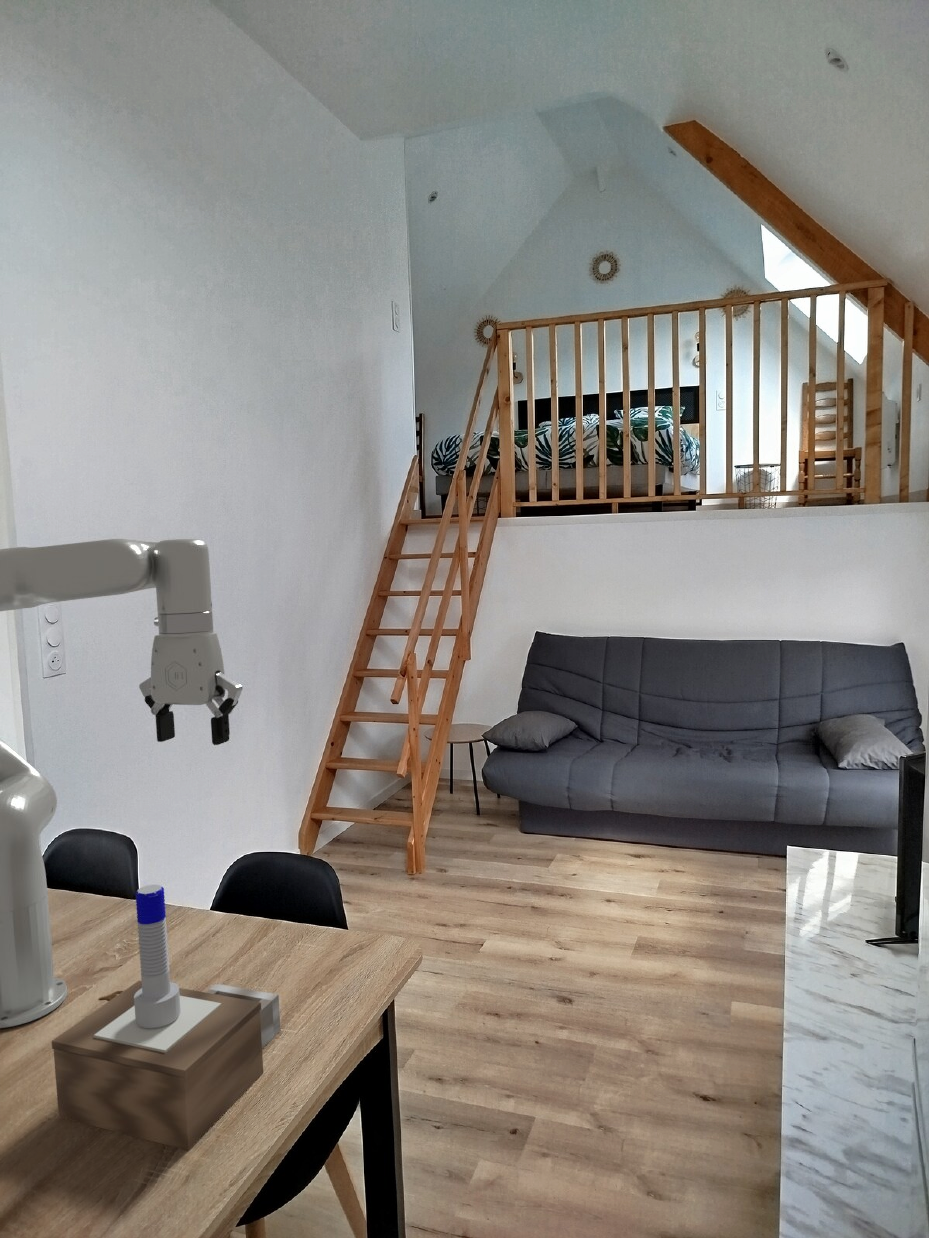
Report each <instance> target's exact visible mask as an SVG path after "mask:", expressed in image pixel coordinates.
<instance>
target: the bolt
mask: <svg viewBox="0 0 929 1238" xmlns="http://www.w3.org/2000/svg"><path fill="white" fill-rule="evenodd" d="M164 890H165V888H164V887H163V886H162V885H160V884H147V885H145V886H142V887H139V888H138V889H137V891H136V892H135V893H134V894H135V903H136V904H135V906H136V915H137V916H136V918H137V919H136V920H137V930H138V931H137V933H138V935H137V936H138V945H139V950H138V951H139V957H140V958H139V960H140V961H139V962H140V977H141V980H140V981H142V988H141V989H140V990H138V991H137V992H136V993H135V995H134V1005H135V1019H136V1023H137V1024H138V1025H139V1026H140V1027H143V1028H147V1029H152V1028H159V1027H163V1026H166V1025H168V1024H170V1023H172V1022H173V1021H174V1020H176V1019H177V1018H178V1016H179V1015H180V1012H181V1009H180V994H179V988H180V986H179V985H178V984H177V983H176V982H171V973H170V972H171V970H170V959H169V945H168V933H167V932H168V929H167V927H168V926H167V918H166V917H167V916H166V912H167V911H166V903H165V900H166V899H165V891H164Z"/></svg>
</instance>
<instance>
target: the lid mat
mask: <svg viewBox="0 0 929 1238" xmlns="http://www.w3.org/2000/svg"><path fill="white" fill-rule="evenodd" d="M221 1006H222V1004H221V1003H217V1002H212V1001H206V1000H201V999H196V998H190V997H185V996H180V1009H181V1012H180V1015H179V1016H178V1018H177V1019H176V1020H174V1021H173V1022H172V1023H170V1024H168V1025H166V1026H163V1027H159V1028H152V1029H147V1028H143V1027H140V1026H139V1025H138V1024H137V1023H136V1019H135V1005H134V1006H133V1007H132V1008H130V1009H129V1010H128V1011H126V1012H125V1013H123V1014H122V1015H121V1016H119V1017H118V1018H117V1019H115V1020H114V1021H112V1022H111V1023H110V1024H108V1025H107V1026H106V1027H104V1028H103V1029H101V1030H100V1031H99V1032H97V1033H96V1034H95V1035H94V1038H98V1039H103V1040H108V1041H112V1042H117V1043H121V1044H126V1045H131V1046H135V1047H140V1048H145V1049H149V1050H154V1051H159V1052H163V1053H166V1052H167V1051H168V1050H170V1049H171V1048H172V1047H173V1046H174V1045H176V1044H177V1043H178V1042H179V1041H180V1040H181V1039H183V1038H184V1037H185V1036H186V1035H187V1034H189V1033H190V1032H191V1031H192V1030H193V1029H195V1028H196V1027H197V1026H198V1025H199V1024H200V1023H202V1022H203V1021H204V1020H205V1019H206V1018H208V1017H209V1016H210V1015H211V1014H212V1013H213V1012H215V1011H216V1010H217V1009H218V1008H219V1007H221Z"/></svg>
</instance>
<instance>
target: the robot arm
mask: <svg viewBox="0 0 929 1238" xmlns="http://www.w3.org/2000/svg"><path fill="white" fill-rule="evenodd" d="M209 552H210V551H209V547H208V544H207V543H206V542H205V541H204V540H202V539H197V538H181V539H180V538H179V539H164V540H160V541H158V542H157V541H156V542H153V541H141V540H136V539H135V540H134V539H126V538H111V539H101V540H100V539H99V540H93V541H92V540H91V541H84V542H75V543H73V542H72V543H64V544H57V545H48V546H47V545H46V546H33V547H30V546H29V547H27V546H18V547H8V548H0V612H5V611H13V610H22V609H31V608H35V607H39V606H41V605H46V604H51V603H59V602H67V601H68V602H69V601H75V600H84V599H92V598H93V599H94V598H101V597H102V598H103V597H110V596H119V595H126V594H130V593H133V592H134V593H135V592H138V591H143V590H150V589H155V594H156V607H157V611H156V612H157V617H155V618H154V619H153V625H154V626H156V627H158V634H157V635H154V638H153V643H152V649H151V658H150V659H151V660H150V677H148V678H147V679H145V680H144V681H142V682H141V683H139V685H138V686H139V690H140V692H141V694H142V696H143V697H144V702H145V704H146V705H147V706H148V707H149V708H150V712H151V715H154V716H155V728H156V730H155V731H156V741H157V742H158V743H162V742H165V741H170V740H171V739H173V738H175V737H176V732H175V731H176V730H175V714H174V711H172V710H171V708H172V707H173V706H174V705H177V706H178V705H181V706H202V705H206V707H207V708H208V709H209V710H210V712H211V713H212V714H213V717H211V718H210V728H211V743H212V745H214V746H219V745H221V744H224V743H226V742H229V741H230V735H231V734H230V719H229V718H230V716H229V715H231V714H233V710H234V708H235V707H236V706H237V705H238V704H239V699H240V696H241V694H242V692H243V688H244V687H243V685H241V684H240V683H238V682H237V681H235V680H233V678H232V679H231V678H230V677H228V676H227V675H226V674H225V667H224V659H223V654H222V648H221V645H220V641H219V637H218V634H217V633H216V632H214V623H213V622H214V619H213V618H214V617H213V601H212V587H211V586H212V585H211V584H212V582H211V568H210V553H209ZM226 691H227V697H226V698H225V694H226ZM57 802H58V799H57V795H56V792H55V789H54V786H53V785H52V784H51V783H50V782H49V780H48V779H47V778H46V777H45V776H44V775H43V774H42V773H41V772H40V771H38V770H37V769H36V768H35V767H34V766H32V765H31V764H30V763H29V762H28V761H27V760H26V759H24V758H23V757H22V756H21V755H20V754H19V753H17V752H16V751H15V749H13V748H12V747H10V746H9V745H8V744H7V743H6V742H5V741H3V739H1V738H0V1029H4V1028H11V1027H15V1026H16V1027H17V1026H19V1025H20V1026H21V1025H23V1024H27V1023H30V1022H33V1021H35V1020H37V1019H40V1018H42V1017H44V1016H46V1015H48V1014H49V1013H51V1012H53V1011H55V1010H56V1009H57V1008H58V1007H59V1006H60V1005H61V1004H62V1003H63V1002H64V1001H65V999H67V995H68V988H67V983H66V981H64V980H63V979H61V978H59V977H58V976H57V977H56V976H55V971H54V960H53V946H52V932H51V921H50V909H49V908H50V907H49V905H50V904H49V895H48V894H49V893H48V885H47V877H46V876H47V873H46V867H45V863H44V862H45V861H44V858H43V854H42V851H41V845H40V835H41V833H42V832H43V831H44V829H45V828H46V827H47V826H48V825H49V823H50V822H51V821H52V819H53V818H54V816H55V813H56V810H57V807H58V805H57V804H58V803H57Z"/></svg>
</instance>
